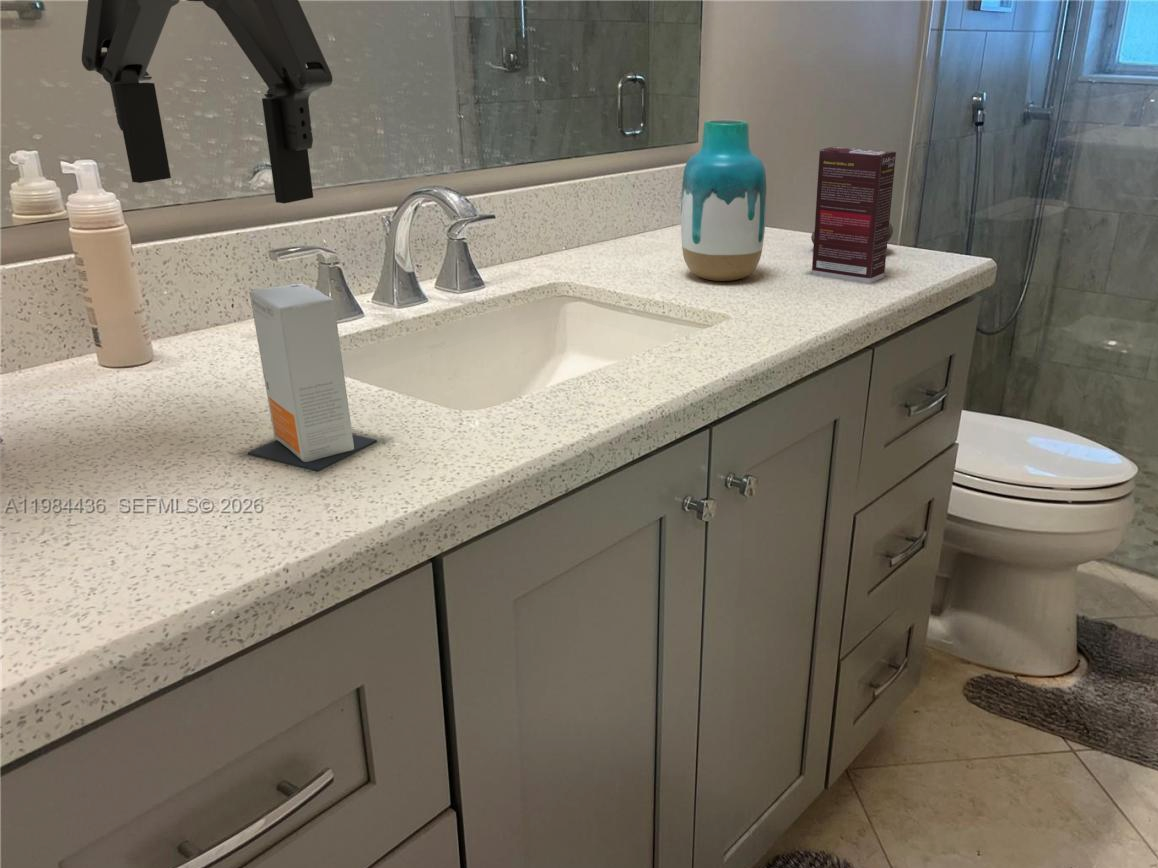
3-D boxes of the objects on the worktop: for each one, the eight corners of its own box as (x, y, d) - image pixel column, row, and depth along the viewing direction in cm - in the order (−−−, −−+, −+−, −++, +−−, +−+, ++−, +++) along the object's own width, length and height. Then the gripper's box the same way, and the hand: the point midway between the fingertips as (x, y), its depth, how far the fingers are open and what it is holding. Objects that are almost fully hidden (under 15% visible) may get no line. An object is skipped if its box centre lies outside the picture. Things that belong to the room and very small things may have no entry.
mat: (248, 458, 80) (247, 452, 79) (310, 430, 85) (309, 424, 85) (318, 475, 77) (317, 469, 77) (377, 445, 82) (377, 439, 82)
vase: (778, 283, 132) (788, 123, 123) (709, 293, 127) (714, 127, 118) (731, 266, 140) (737, 115, 131) (664, 275, 135) (665, 119, 126)
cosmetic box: (272, 440, 82) (246, 289, 76) (324, 428, 84) (303, 281, 79) (303, 464, 78) (278, 307, 72) (357, 451, 80) (336, 297, 75)
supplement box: (885, 279, 135) (898, 150, 128) (869, 286, 131) (882, 154, 124) (825, 269, 139) (835, 145, 132) (808, 276, 136) (818, 148, 129)
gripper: (367, -165, 62) (397, 200, 71) (80, -156, 71) (140, 166, 81) (273, -184, 56) (320, 218, 65) (-28, -172, 65) (51, 179, 75)
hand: (221, 190), depth 73 cm, fingers open, 13 cm apart
